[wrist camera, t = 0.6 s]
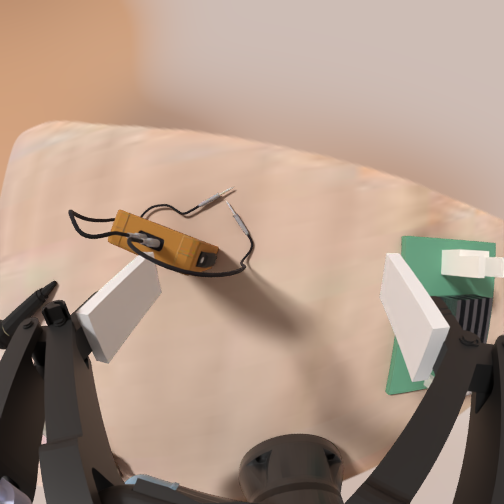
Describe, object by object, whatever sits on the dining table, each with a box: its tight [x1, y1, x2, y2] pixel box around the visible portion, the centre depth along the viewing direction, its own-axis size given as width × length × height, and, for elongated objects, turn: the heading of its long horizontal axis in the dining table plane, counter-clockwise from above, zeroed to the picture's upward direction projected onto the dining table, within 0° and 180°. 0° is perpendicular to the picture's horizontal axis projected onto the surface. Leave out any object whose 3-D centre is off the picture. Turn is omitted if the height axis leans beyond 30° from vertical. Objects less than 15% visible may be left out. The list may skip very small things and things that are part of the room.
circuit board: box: [385, 236, 504, 395], centre depth 28 cm, size 21×18×9 cm
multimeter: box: [68, 187, 253, 277], centre depth 23 cm, size 15×10×20 cm
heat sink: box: [437, 294, 493, 344], centre depth 29 cm, size 8×8×5 cm
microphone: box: [0, 281, 57, 349], centre depth 32 cm, size 5×5×19 cm
